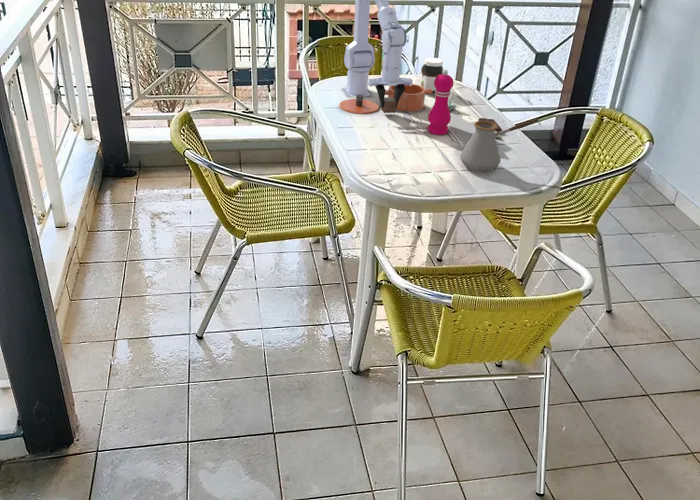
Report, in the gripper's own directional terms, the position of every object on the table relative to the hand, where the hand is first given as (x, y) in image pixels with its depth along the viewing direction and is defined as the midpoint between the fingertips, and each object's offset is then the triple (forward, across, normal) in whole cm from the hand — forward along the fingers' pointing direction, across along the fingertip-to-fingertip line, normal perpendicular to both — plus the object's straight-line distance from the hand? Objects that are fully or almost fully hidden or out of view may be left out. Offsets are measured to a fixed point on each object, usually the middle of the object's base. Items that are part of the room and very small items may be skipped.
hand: (388, 106), depth 226 cm
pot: (+3, +9, +9) cm, 13 cm away
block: (+1, 0, 0) cm, 1 cm away
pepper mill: (+4, +13, -15) cm, 20 cm away
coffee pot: (+3, +21, -44) cm, 49 cm away
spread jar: (+4, +25, +24) cm, 35 cm away
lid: (+3, -8, +8) cm, 12 cm away
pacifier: (+4, +23, +6) cm, 24 cm away
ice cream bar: (+4, +31, -16) cm, 35 cm away
